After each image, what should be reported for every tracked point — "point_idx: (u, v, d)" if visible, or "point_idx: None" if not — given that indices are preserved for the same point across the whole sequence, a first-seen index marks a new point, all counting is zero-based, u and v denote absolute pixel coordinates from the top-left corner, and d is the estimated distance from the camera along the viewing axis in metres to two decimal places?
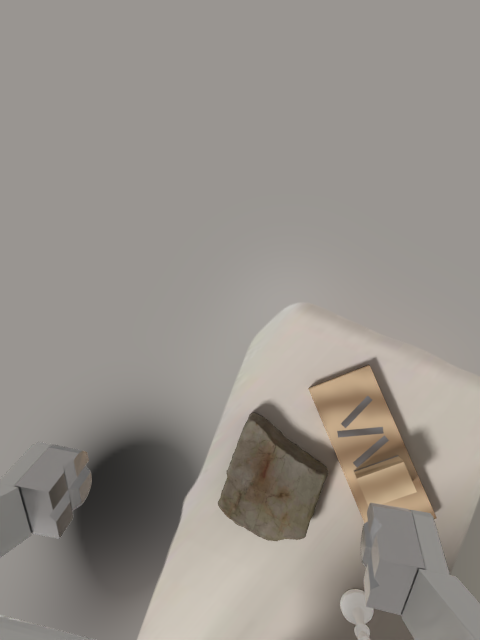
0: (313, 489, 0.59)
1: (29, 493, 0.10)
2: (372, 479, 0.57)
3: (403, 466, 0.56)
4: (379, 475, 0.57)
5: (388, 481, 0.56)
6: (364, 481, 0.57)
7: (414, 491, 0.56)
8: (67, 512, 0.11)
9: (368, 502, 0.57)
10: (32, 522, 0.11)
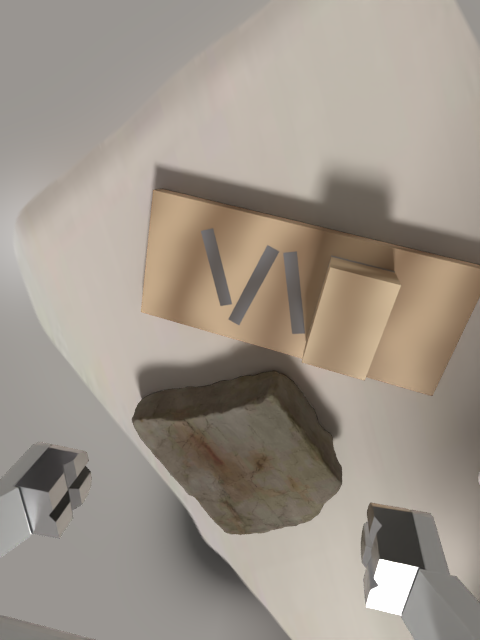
0: (280, 424, 0.32)
1: (29, 493, 0.10)
2: (321, 340, 0.27)
3: (337, 274, 0.25)
4: (323, 325, 0.26)
5: (344, 318, 0.26)
6: (315, 354, 0.27)
7: (396, 288, 0.24)
8: (67, 512, 0.11)
9: (353, 374, 0.27)
10: (32, 522, 0.11)
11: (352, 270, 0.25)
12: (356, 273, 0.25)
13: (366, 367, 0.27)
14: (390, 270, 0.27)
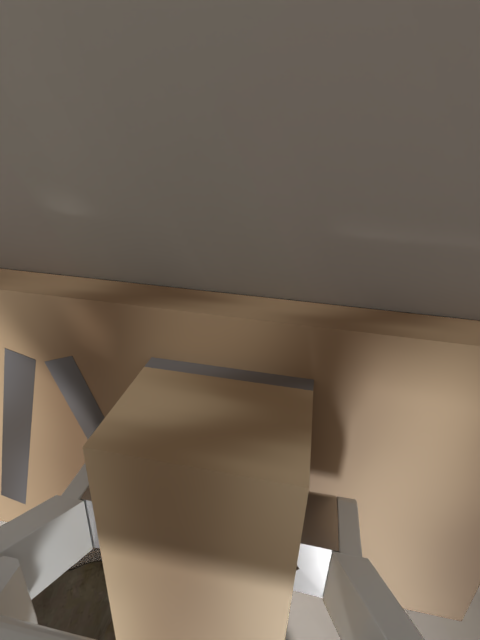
0: None
1: None
2: (140, 606, 0.10)
3: (110, 463, 0.08)
4: (130, 577, 0.09)
5: (176, 564, 0.09)
6: (139, 631, 0.10)
7: (297, 496, 0.07)
8: None
9: None
10: (95, 535, 0.10)
11: (164, 435, 0.08)
12: (166, 455, 0.08)
13: None
14: (302, 381, 0.10)
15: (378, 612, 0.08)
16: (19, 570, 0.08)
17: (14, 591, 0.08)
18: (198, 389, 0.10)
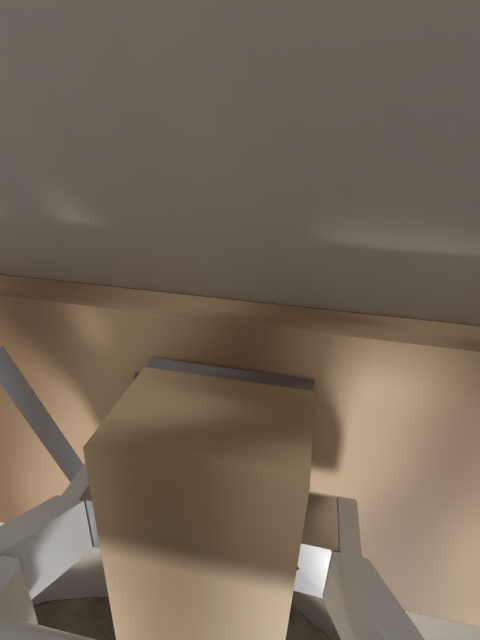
0: None
1: None
2: (140, 607, 0.10)
3: (110, 464, 0.08)
4: (130, 578, 0.09)
5: (176, 565, 0.09)
6: (139, 632, 0.10)
7: (298, 497, 0.07)
8: None
9: None
10: (95, 536, 0.10)
11: (165, 435, 0.08)
12: (167, 456, 0.08)
13: None
14: (302, 381, 0.10)
15: (378, 612, 0.08)
16: (19, 570, 0.08)
17: (14, 591, 0.08)
18: (198, 389, 0.10)
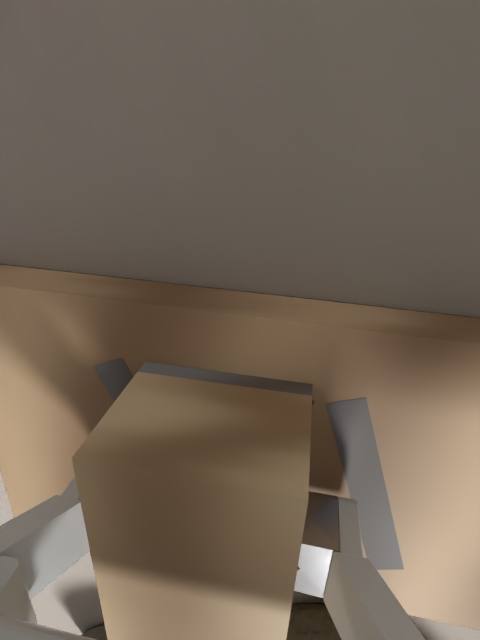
0: None
1: None
2: (134, 619, 0.09)
3: (101, 474, 0.07)
4: (123, 590, 0.09)
5: (171, 577, 0.08)
6: None
7: (296, 509, 0.07)
8: None
9: None
10: None
11: (157, 444, 0.08)
12: (159, 466, 0.07)
13: None
14: (300, 385, 0.10)
15: (379, 613, 0.08)
16: (18, 570, 0.08)
17: (13, 591, 0.08)
18: (193, 395, 0.09)
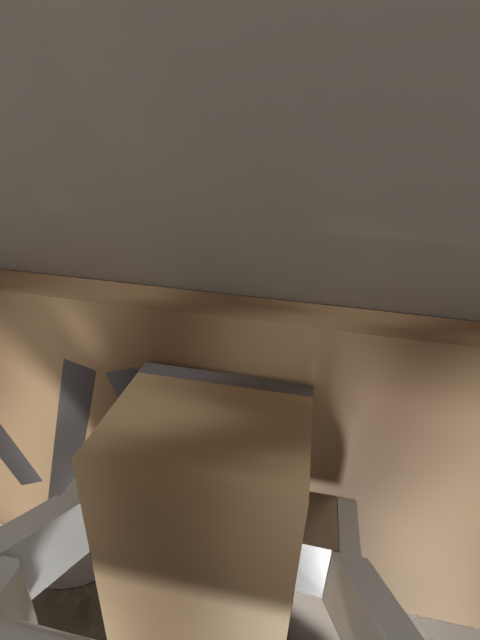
0: None
1: None
2: (134, 620, 0.09)
3: (101, 476, 0.07)
4: (123, 592, 0.09)
5: (170, 578, 0.08)
6: None
7: (296, 511, 0.07)
8: None
9: None
10: None
11: (158, 445, 0.08)
12: (159, 468, 0.07)
13: None
14: (301, 387, 0.10)
15: (378, 612, 0.08)
16: (19, 570, 0.08)
17: (14, 591, 0.08)
18: (193, 396, 0.09)
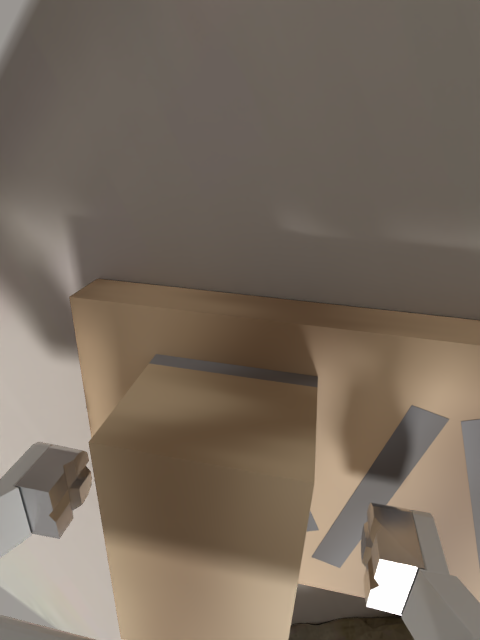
0: None
1: (29, 493, 0.10)
2: (145, 602, 0.10)
3: (116, 458, 0.08)
4: (135, 572, 0.09)
5: (181, 559, 0.09)
6: (144, 627, 0.10)
7: (302, 491, 0.07)
8: (67, 512, 0.11)
9: None
10: (32, 522, 0.11)
11: (170, 430, 0.08)
12: (172, 450, 0.08)
13: None
14: (306, 377, 0.10)
15: None
16: None
17: None
18: (203, 385, 0.10)
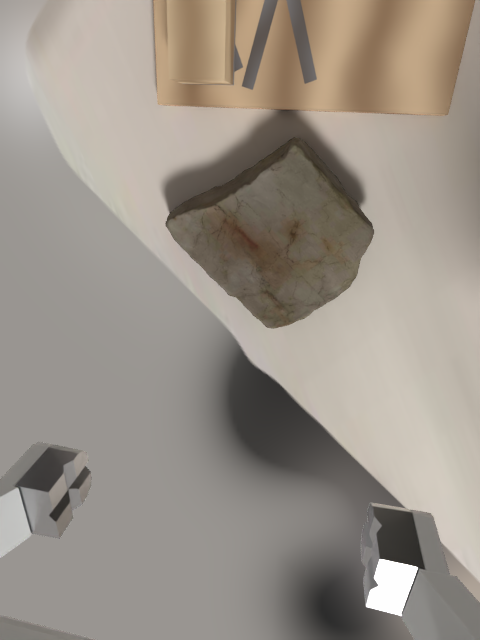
0: (306, 176, 0.33)
1: (29, 493, 0.10)
2: (178, 48, 0.30)
3: None
4: (176, 30, 0.29)
5: (191, 15, 0.29)
6: (177, 66, 0.30)
7: None
8: (67, 512, 0.11)
9: (214, 76, 0.30)
10: (32, 522, 0.11)
11: None
12: None
13: (222, 64, 0.30)
14: None
15: None
16: None
17: None
18: None
